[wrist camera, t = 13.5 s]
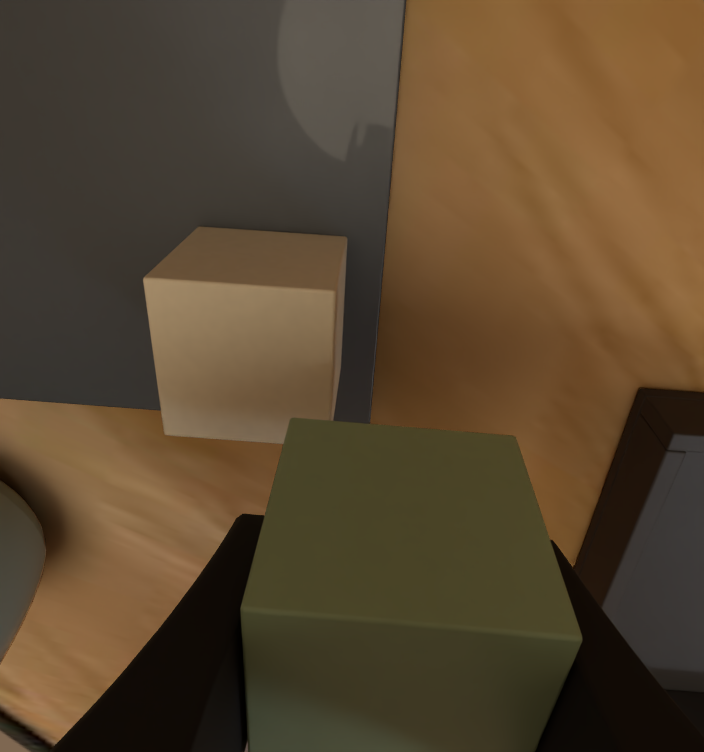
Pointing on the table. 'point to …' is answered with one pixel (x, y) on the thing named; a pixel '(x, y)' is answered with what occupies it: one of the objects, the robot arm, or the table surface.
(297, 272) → the cream block
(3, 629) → the cup
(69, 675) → the table surface
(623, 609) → the tray
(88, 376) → the board
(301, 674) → the sage block
